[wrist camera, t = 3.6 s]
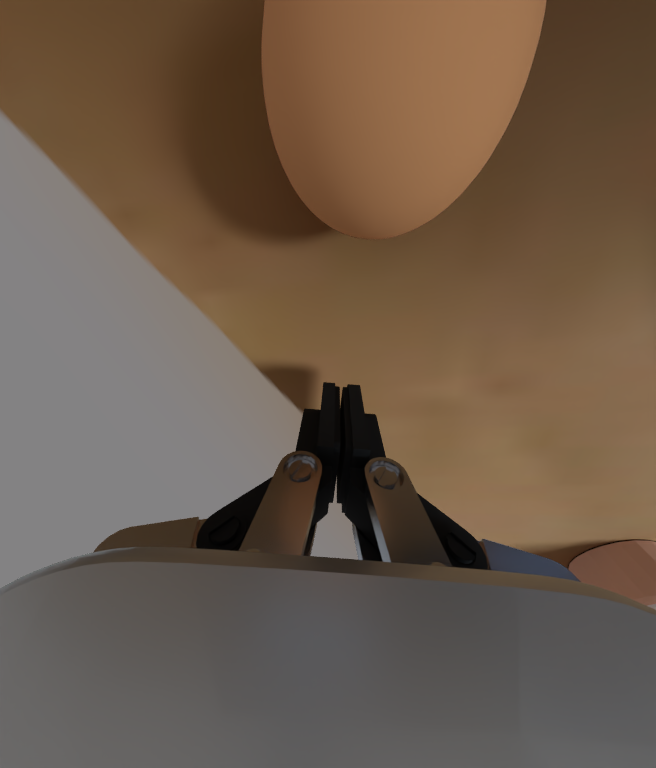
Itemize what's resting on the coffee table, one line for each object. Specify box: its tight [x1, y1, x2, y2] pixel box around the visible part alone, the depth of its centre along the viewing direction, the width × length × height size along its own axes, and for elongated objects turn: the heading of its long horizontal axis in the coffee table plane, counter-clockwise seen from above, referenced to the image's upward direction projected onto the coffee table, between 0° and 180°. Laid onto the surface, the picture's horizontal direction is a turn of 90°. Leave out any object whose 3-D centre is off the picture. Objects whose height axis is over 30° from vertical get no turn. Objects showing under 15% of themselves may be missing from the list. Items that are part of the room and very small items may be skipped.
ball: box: [262, 0, 547, 239], centre depth 5 cm, size 6×6×6 cm
